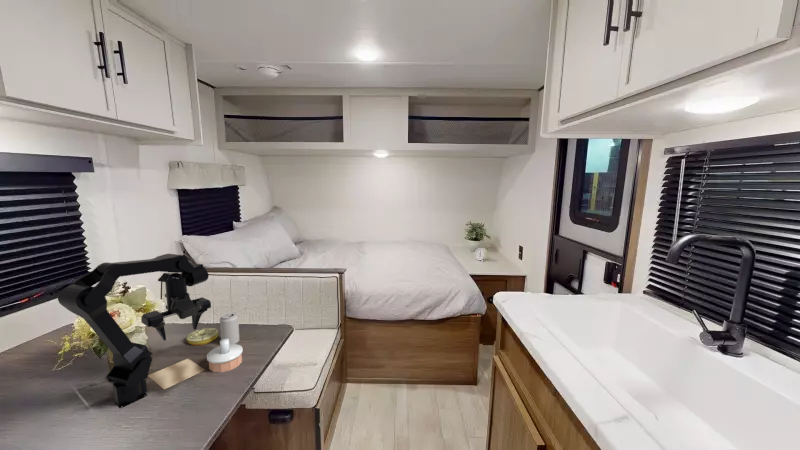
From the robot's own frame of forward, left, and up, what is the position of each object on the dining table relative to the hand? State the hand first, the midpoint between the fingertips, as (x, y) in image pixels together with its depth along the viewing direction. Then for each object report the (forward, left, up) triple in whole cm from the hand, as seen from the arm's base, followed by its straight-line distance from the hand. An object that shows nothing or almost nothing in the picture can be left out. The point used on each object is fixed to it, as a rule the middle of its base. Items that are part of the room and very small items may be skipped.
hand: (180, 334), depth 106 cm
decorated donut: (+13, +13, -12) cm, 22 cm away
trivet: (-3, -3, -12) cm, 13 cm away
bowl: (+9, -11, -12) cm, 19 cm away
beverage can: (+18, +2, -12) cm, 22 cm away
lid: (+9, -11, -8) cm, 16 cm away
